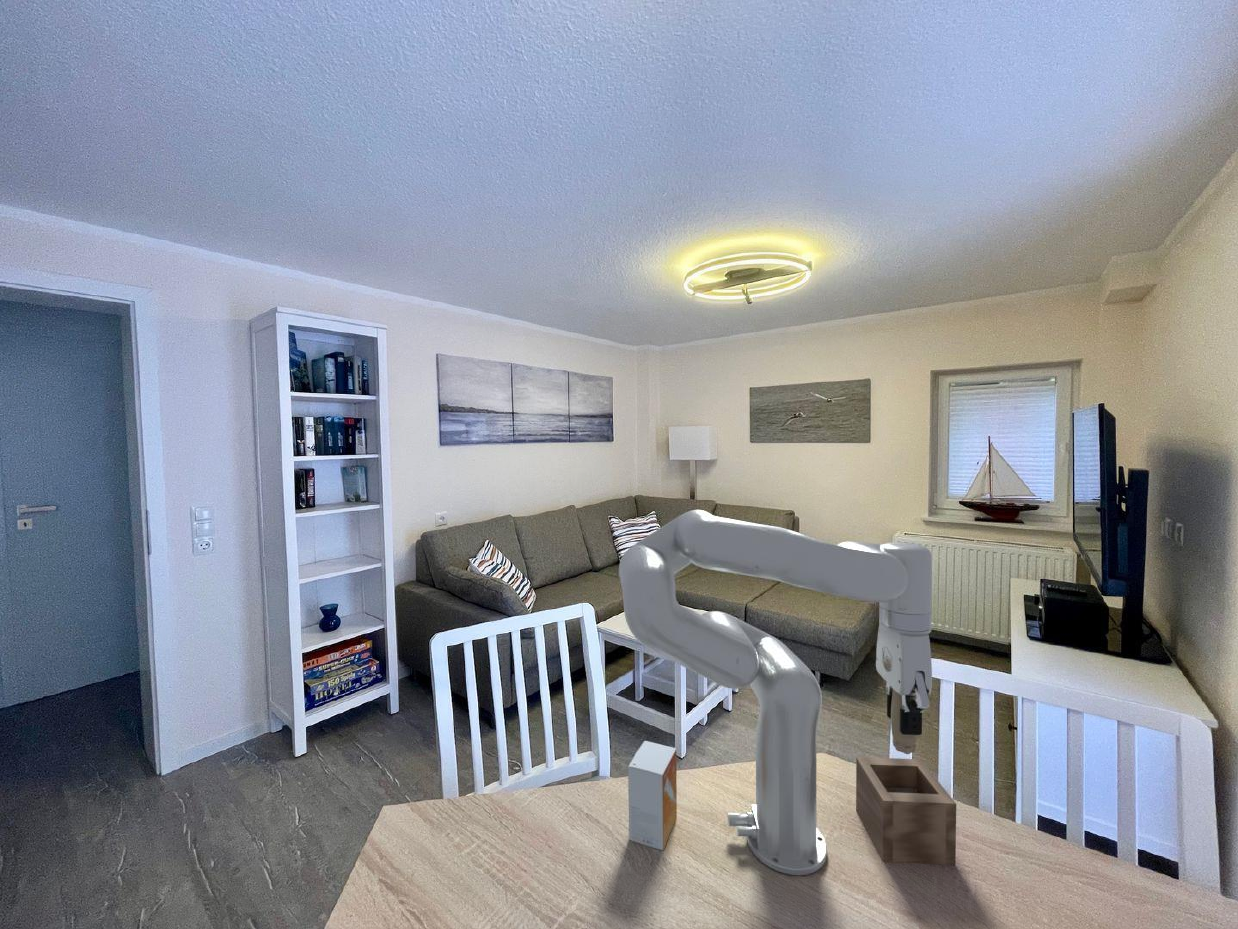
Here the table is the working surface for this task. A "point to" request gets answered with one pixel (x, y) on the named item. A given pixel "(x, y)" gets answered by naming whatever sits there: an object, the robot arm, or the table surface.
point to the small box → (652, 794)
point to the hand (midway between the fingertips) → (903, 724)
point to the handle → (899, 740)
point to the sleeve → (906, 811)
